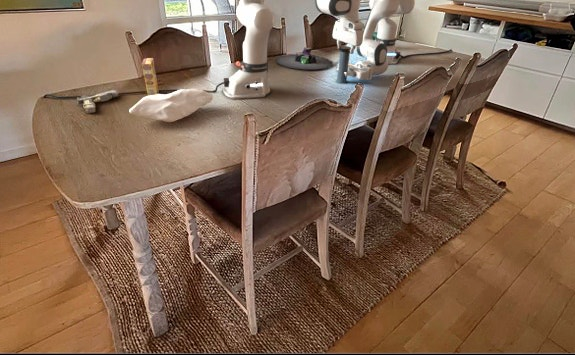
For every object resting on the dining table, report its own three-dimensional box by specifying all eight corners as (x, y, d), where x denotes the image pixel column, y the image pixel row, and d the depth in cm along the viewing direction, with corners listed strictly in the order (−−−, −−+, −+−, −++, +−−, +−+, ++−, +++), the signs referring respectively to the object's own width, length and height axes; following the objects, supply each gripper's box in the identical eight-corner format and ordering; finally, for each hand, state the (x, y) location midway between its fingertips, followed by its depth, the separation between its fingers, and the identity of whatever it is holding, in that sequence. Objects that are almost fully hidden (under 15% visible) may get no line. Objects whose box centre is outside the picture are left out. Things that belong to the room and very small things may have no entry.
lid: (344, 52, 181) (344, 49, 180) (337, 50, 185) (337, 46, 184) (353, 51, 184) (354, 48, 183) (346, 49, 188) (346, 45, 187)
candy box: (157, 97, 164) (152, 63, 155) (147, 98, 163) (141, 63, 155) (158, 91, 171) (153, 57, 163) (149, 91, 170) (143, 58, 162)
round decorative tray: (344, 65, 218) (345, 49, 214) (297, 72, 201) (297, 55, 197) (309, 55, 243) (309, 41, 239) (264, 61, 226) (264, 46, 221)
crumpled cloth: (117, 110, 146) (113, 90, 140) (195, 92, 166) (194, 73, 160) (143, 139, 134) (140, 118, 128) (223, 116, 154) (224, 96, 148)
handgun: (128, 97, 156) (111, 87, 164) (86, 107, 144) (70, 97, 152) (129, 103, 157) (113, 94, 165) (88, 114, 146) (72, 103, 154)
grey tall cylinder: (335, 80, 195) (339, 48, 186) (344, 80, 196) (348, 47, 187) (338, 83, 191) (342, 50, 182) (347, 83, 192) (351, 50, 183)
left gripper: (331, 19, 183) (328, 47, 191) (356, 26, 169) (352, 56, 176) (341, 18, 186) (338, 46, 194) (367, 25, 171) (362, 55, 179)
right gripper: (350, 58, 202) (330, 61, 196) (375, 68, 187) (354, 71, 181) (349, 70, 205) (329, 72, 199) (373, 80, 190) (352, 83, 184)
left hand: (345, 51), depth 185 cm, fingers open, 8 cm apart
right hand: (341, 72), depth 190 cm, fingers closed on grey tall cylinder, 5 cm apart
